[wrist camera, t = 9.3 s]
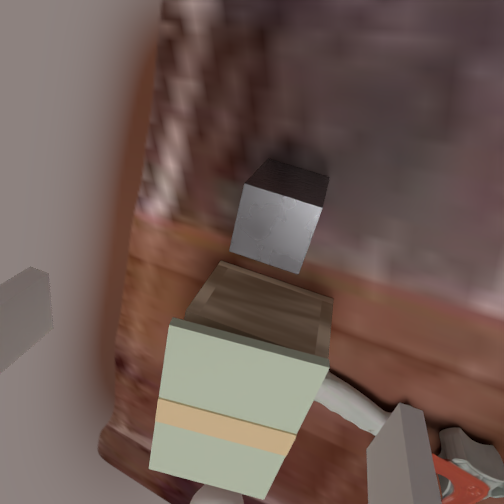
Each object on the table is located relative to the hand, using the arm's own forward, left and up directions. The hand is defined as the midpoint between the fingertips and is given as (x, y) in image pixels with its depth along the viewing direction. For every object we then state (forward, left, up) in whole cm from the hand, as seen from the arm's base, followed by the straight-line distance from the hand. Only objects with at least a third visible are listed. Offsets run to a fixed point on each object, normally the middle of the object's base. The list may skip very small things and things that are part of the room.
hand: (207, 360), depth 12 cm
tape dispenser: (+21, +18, -19) cm, 34 cm away
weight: (0, 0, -19) cm, 19 cm away
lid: (+17, +1, -10) cm, 20 cm away
